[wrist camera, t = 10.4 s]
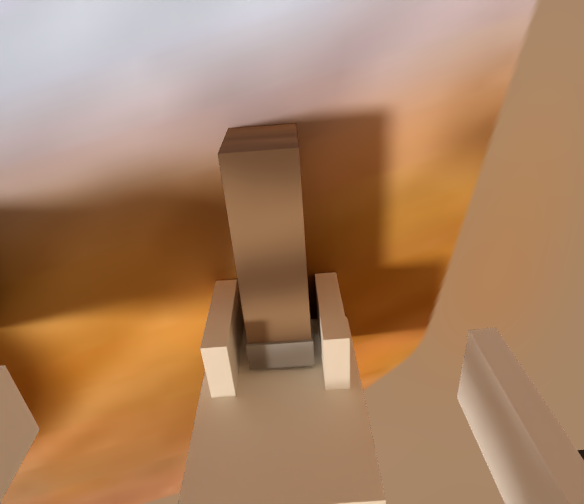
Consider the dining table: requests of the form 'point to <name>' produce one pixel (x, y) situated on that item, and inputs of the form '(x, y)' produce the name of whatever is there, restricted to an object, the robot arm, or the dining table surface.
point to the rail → (268, 242)
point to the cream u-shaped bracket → (281, 416)
